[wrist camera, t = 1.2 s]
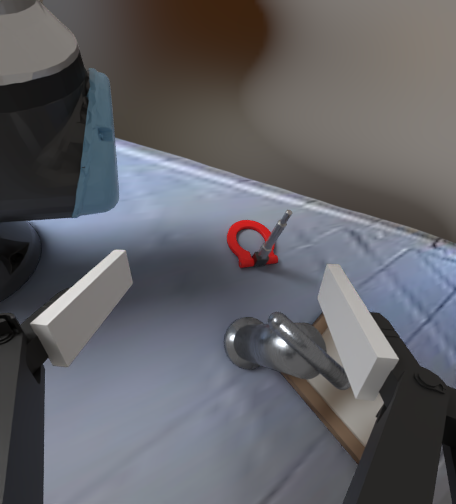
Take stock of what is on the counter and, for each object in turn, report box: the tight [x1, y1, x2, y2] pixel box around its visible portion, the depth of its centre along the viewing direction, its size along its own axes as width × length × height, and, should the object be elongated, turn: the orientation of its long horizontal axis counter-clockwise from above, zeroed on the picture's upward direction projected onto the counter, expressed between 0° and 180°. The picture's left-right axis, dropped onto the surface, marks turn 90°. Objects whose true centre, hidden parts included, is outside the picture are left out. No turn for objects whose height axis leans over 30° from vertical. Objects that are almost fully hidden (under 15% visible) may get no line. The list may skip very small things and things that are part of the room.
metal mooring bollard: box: [224, 312, 351, 390], centre depth 24 cm, size 9×6×14 cm
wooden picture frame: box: [281, 312, 384, 464], centre depth 31 cm, size 16×14×2 cm
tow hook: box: [227, 210, 292, 268], centre depth 34 cm, size 8×13×9 cm
